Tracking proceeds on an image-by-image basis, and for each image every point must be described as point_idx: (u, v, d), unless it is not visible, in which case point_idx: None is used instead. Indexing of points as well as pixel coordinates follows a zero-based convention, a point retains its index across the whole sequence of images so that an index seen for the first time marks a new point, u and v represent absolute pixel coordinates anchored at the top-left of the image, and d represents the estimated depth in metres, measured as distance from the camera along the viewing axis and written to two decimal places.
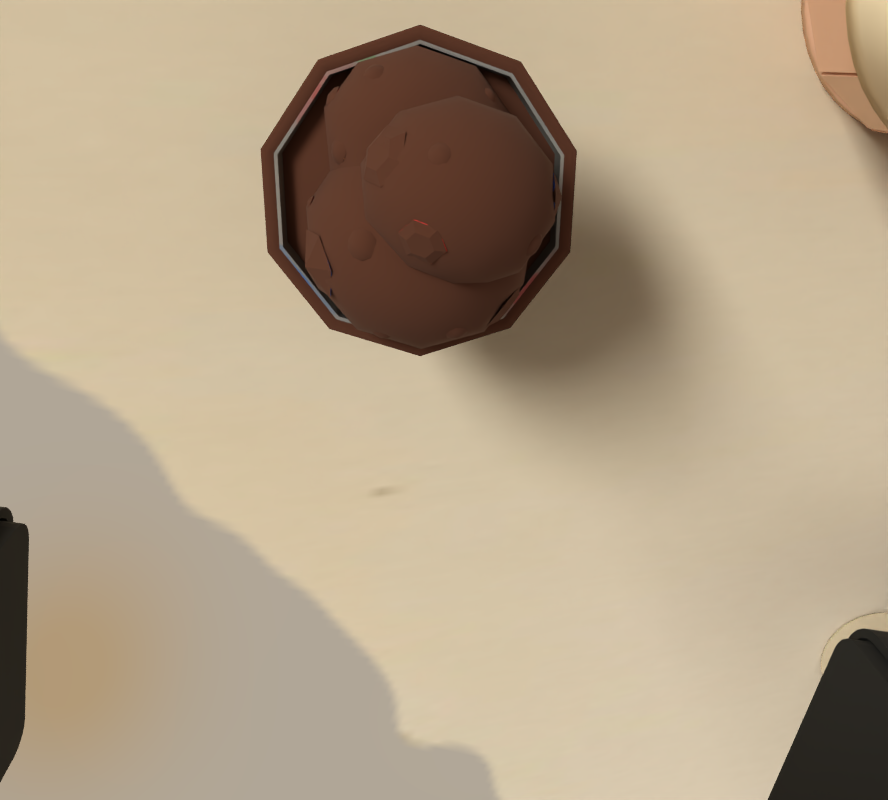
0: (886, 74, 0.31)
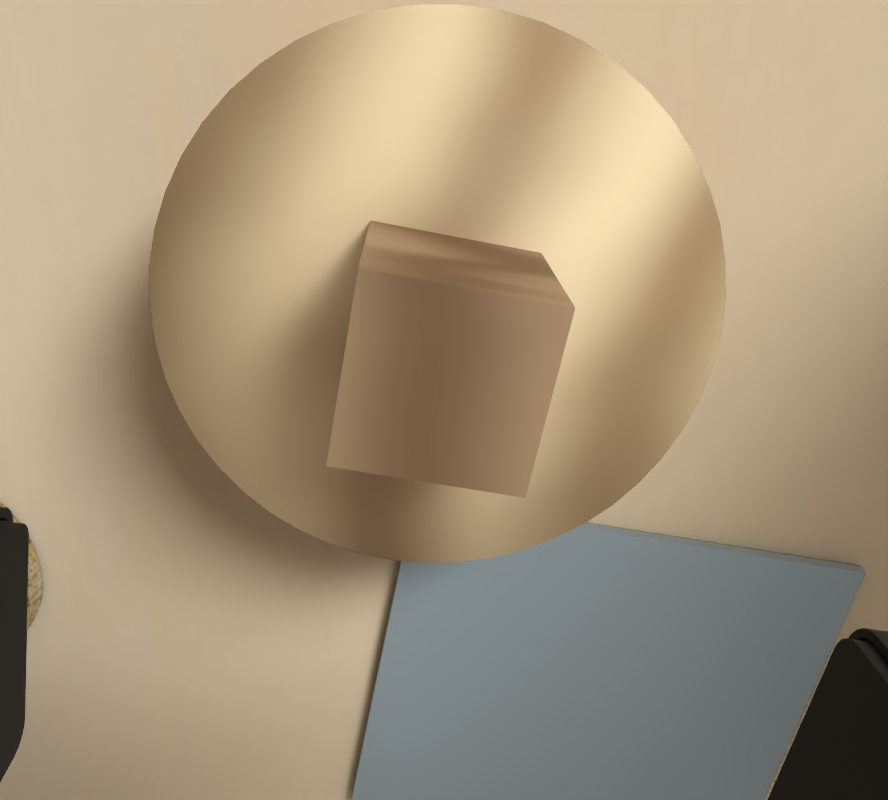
0: (283, 77, 0.20)
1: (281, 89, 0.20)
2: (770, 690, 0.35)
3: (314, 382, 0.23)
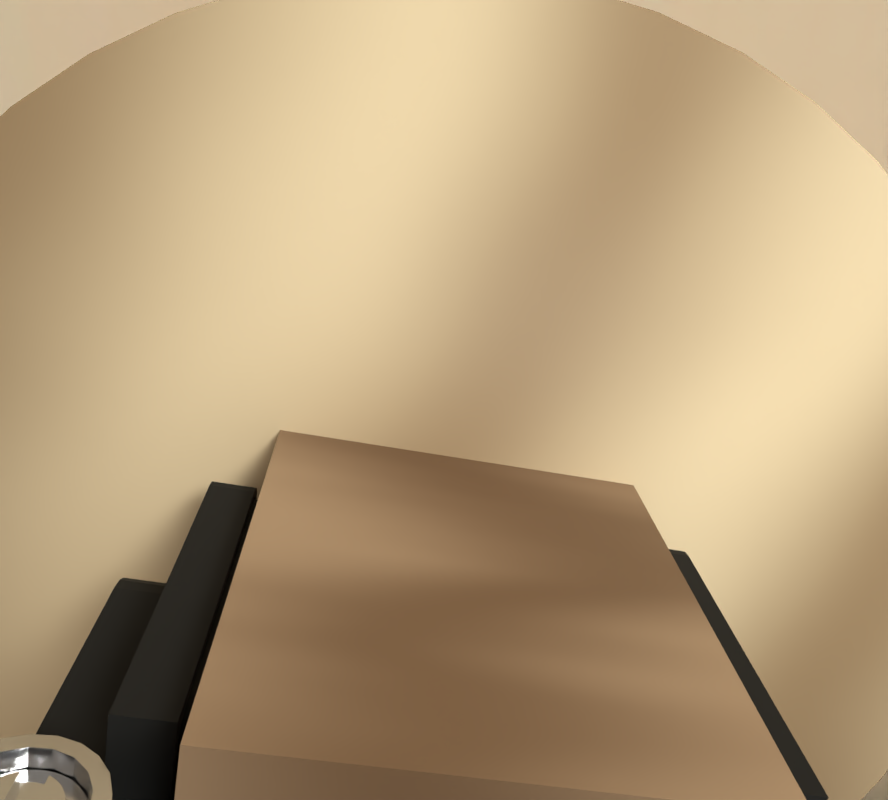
0: (69, 137, 0.09)
1: (65, 162, 0.09)
2: None
3: None
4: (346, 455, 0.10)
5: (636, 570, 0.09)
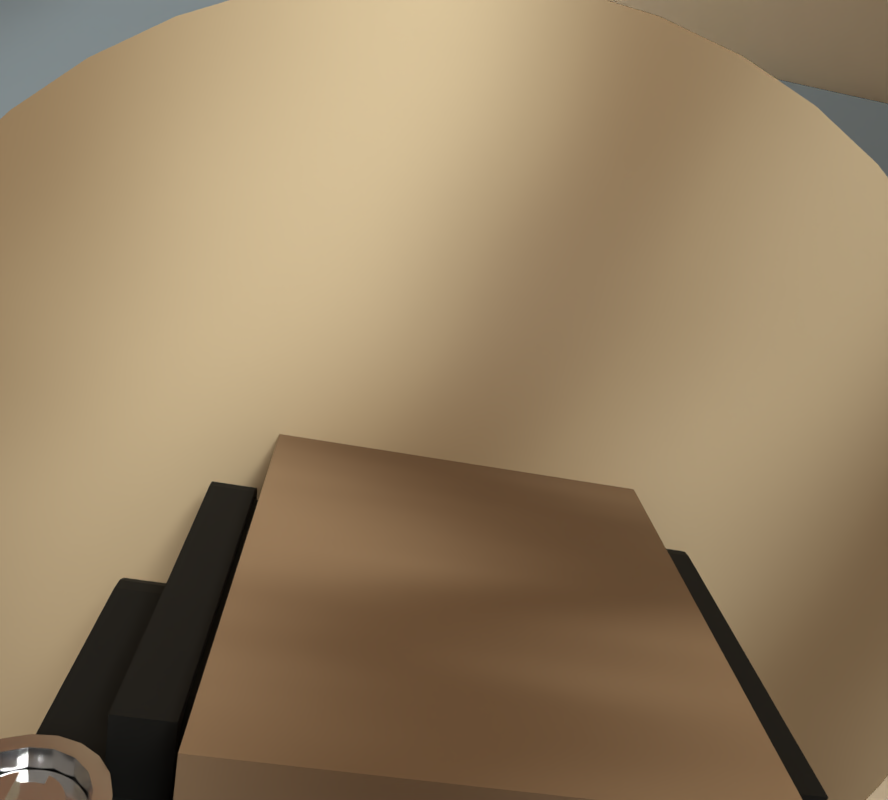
0: (68, 140, 0.09)
1: (63, 166, 0.09)
2: None
3: None
4: (345, 459, 0.10)
5: (636, 575, 0.09)
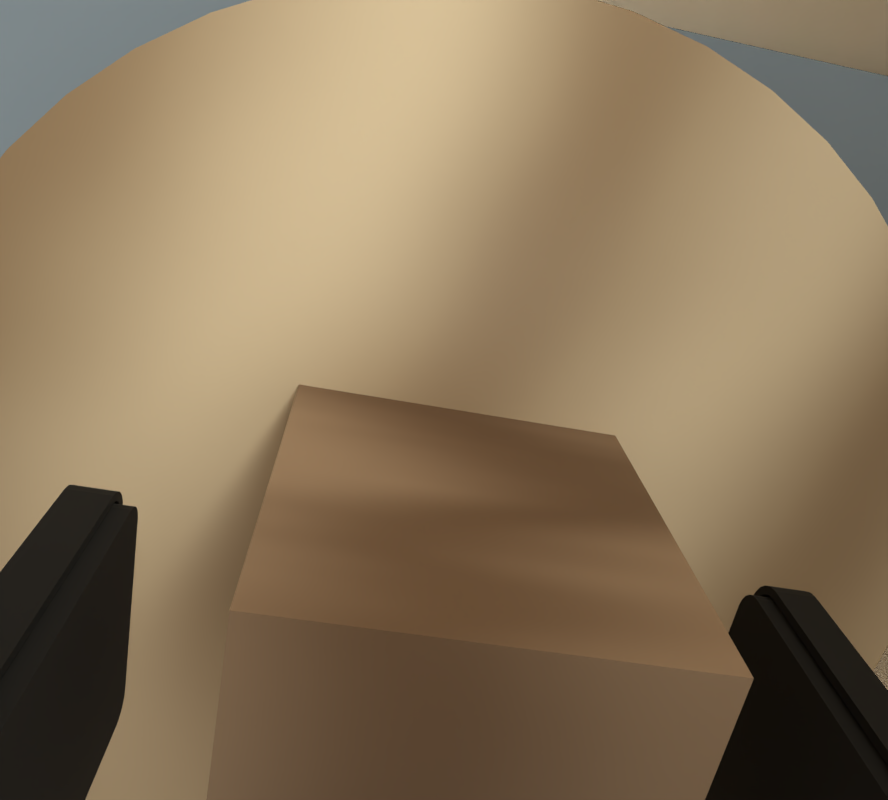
0: (116, 121, 0.10)
1: (112, 144, 0.10)
2: None
3: (208, 652, 0.13)
4: (358, 406, 0.11)
5: (614, 501, 0.10)
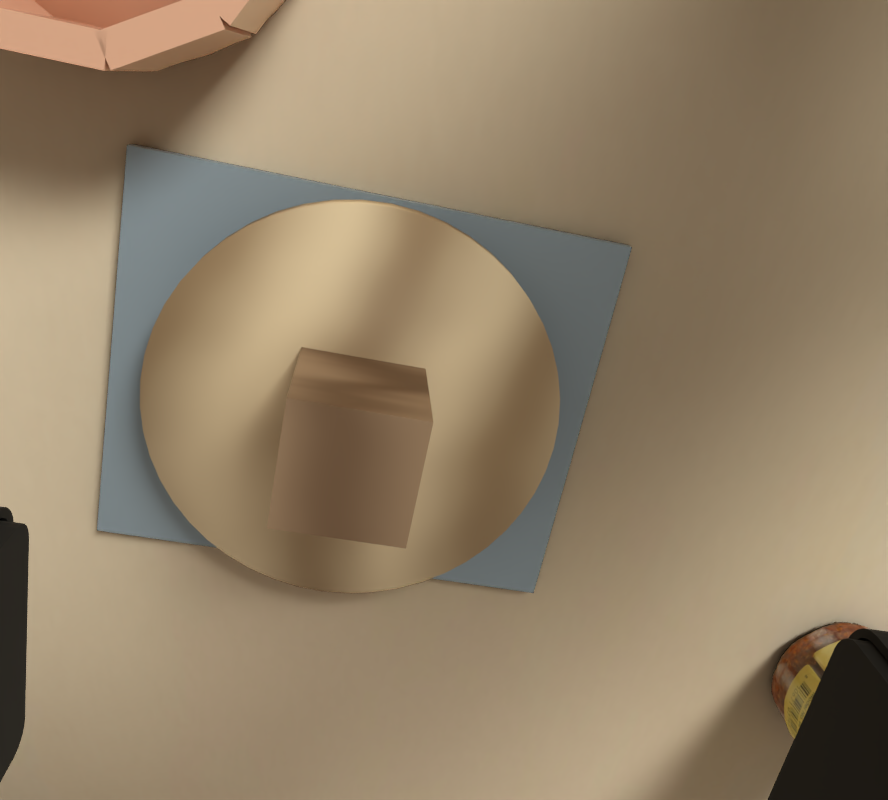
0: (238, 251, 0.28)
1: (236, 259, 0.28)
2: None
3: (262, 460, 0.31)
4: (324, 354, 0.29)
5: (413, 385, 0.28)
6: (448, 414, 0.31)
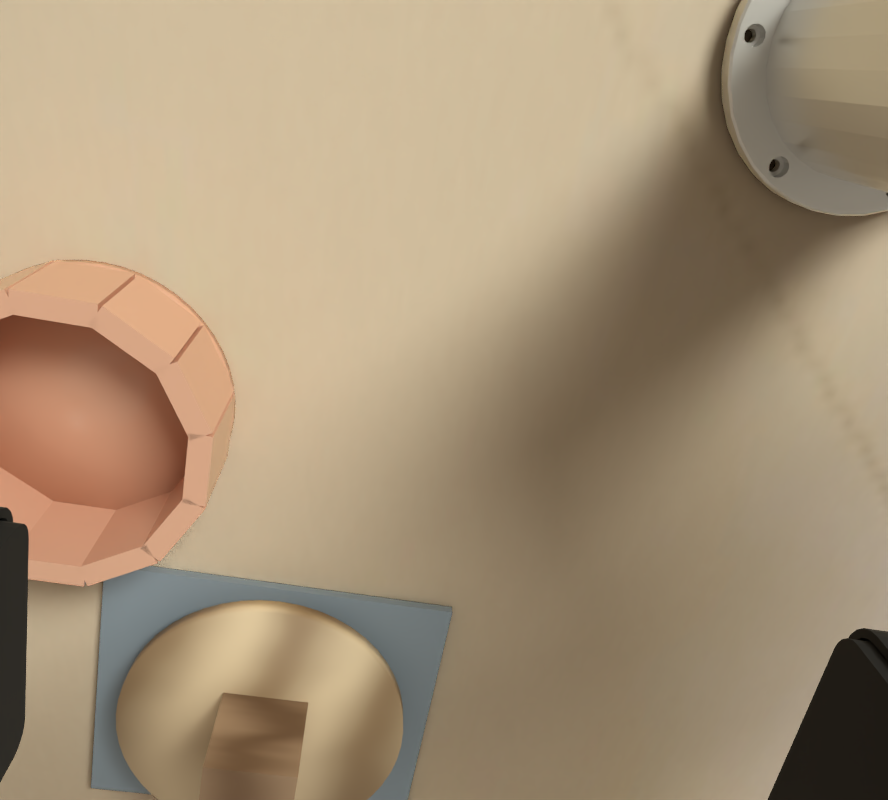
0: (177, 640, 0.43)
1: (176, 644, 0.43)
2: None
3: (200, 758, 0.46)
4: (237, 700, 0.44)
5: (294, 729, 0.43)
6: (326, 728, 0.45)
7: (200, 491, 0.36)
